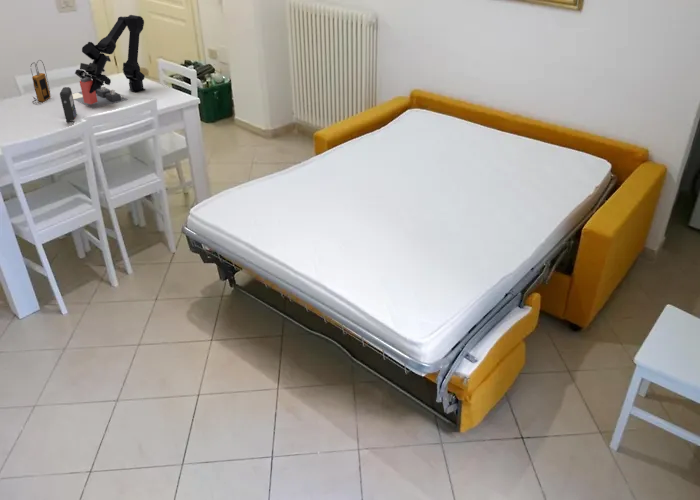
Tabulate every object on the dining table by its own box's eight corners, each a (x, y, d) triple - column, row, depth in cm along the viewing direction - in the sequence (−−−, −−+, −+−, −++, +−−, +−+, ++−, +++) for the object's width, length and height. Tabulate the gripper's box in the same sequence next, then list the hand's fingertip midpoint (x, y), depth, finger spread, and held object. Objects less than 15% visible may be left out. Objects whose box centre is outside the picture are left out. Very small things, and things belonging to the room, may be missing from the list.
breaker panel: (100, 89, 324) (98, 78, 320) (129, 102, 309) (126, 90, 306) (61, 99, 309) (58, 87, 306) (89, 112, 295) (86, 100, 291)
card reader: (75, 123, 283) (67, 92, 275) (66, 123, 282) (58, 93, 274) (78, 116, 290) (71, 86, 282) (69, 116, 290) (62, 86, 281)
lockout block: (91, 100, 301) (86, 76, 294) (97, 101, 299) (92, 77, 293) (84, 102, 298) (78, 78, 291) (90, 104, 296) (85, 80, 289)
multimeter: (37, 94, 315) (27, 56, 304) (54, 95, 314) (45, 57, 303) (21, 103, 303) (10, 64, 292) (39, 104, 302) (28, 65, 291)
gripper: (73, 53, 292) (61, 81, 290) (101, 58, 286) (89, 87, 284) (88, 65, 303) (76, 92, 300) (116, 70, 296) (104, 98, 294)
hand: (86, 92), depth 294 cm, fingers closed on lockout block, 4 cm apart
